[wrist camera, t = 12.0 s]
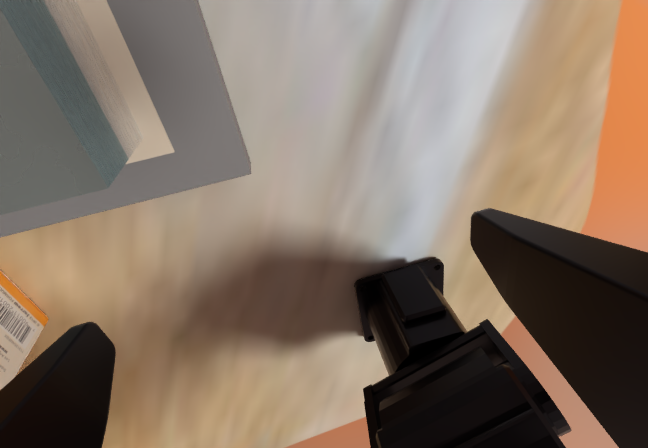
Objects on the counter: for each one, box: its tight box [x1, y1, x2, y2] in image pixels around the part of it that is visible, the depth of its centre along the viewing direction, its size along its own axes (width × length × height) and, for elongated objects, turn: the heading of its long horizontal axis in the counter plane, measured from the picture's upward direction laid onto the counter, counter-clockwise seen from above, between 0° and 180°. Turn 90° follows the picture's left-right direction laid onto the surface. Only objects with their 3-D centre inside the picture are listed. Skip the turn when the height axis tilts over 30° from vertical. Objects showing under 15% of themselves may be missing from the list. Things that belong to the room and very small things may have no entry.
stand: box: [0, 0, 251, 237], centre depth 14 cm, size 13×13×2 cm
